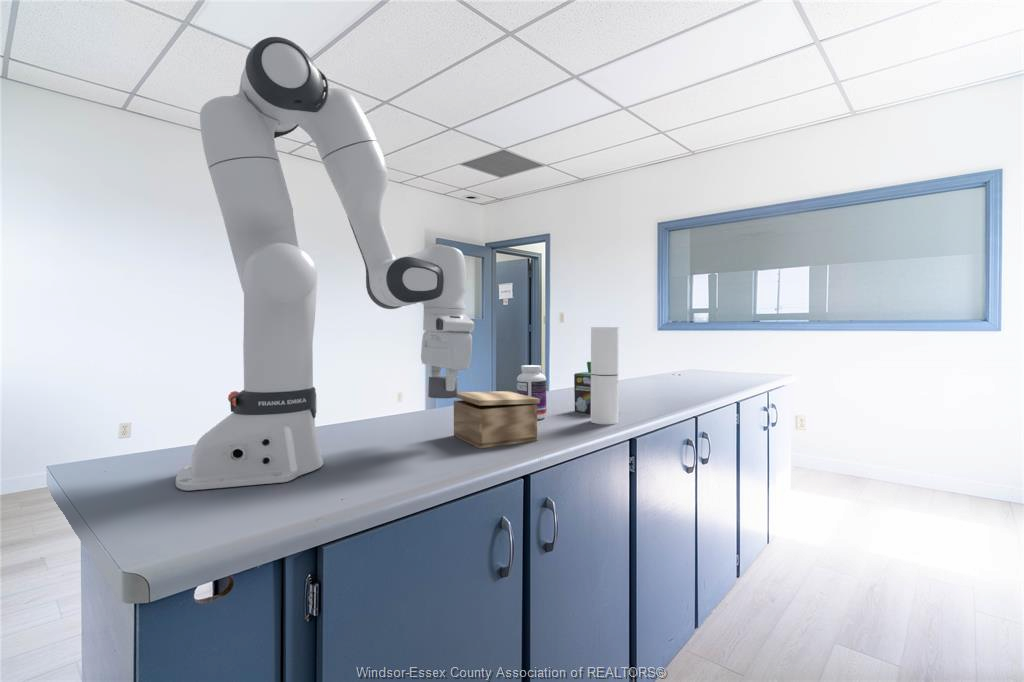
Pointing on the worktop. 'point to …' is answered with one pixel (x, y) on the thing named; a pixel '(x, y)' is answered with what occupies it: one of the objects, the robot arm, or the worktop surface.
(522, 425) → the box
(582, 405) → the chalk box
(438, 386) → the smooth gray rounded object
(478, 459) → the worktop surface
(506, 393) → the lid
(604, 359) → the cylindrical container
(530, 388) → the pill bottle
